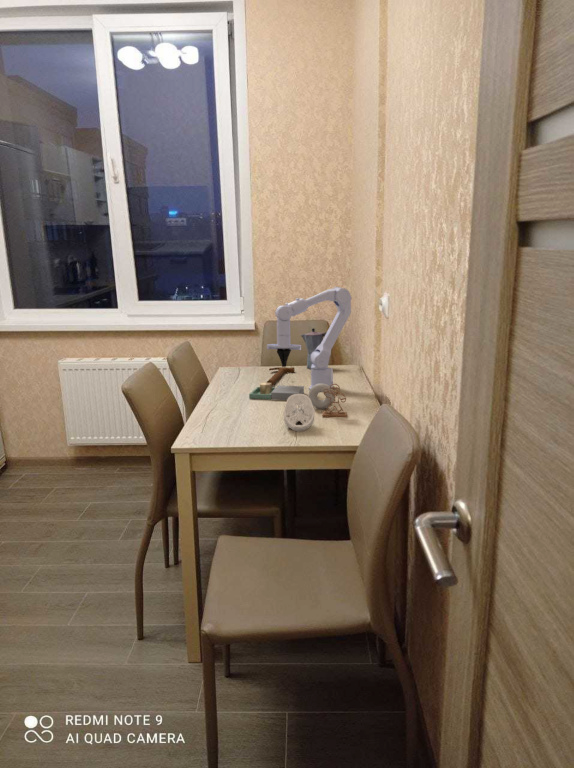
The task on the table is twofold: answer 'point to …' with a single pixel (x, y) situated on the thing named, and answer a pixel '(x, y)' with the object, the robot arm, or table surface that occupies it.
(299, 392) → the slate plate
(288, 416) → the skull bowl
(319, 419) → the table surface
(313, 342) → the moka pot
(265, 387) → the maple block
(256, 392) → the box
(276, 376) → the hammer
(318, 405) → the donut
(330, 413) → the gingerbread man figurine
